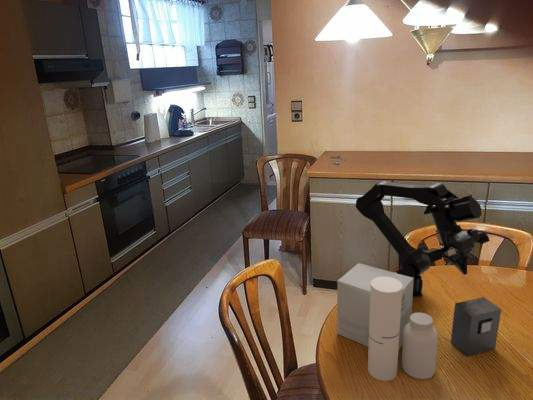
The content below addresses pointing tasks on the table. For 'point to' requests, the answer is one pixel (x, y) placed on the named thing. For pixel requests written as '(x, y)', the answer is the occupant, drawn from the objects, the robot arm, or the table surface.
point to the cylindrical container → (384, 327)
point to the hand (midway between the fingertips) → (465, 274)
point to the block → (474, 326)
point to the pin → (484, 325)
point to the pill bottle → (419, 346)
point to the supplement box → (366, 302)
